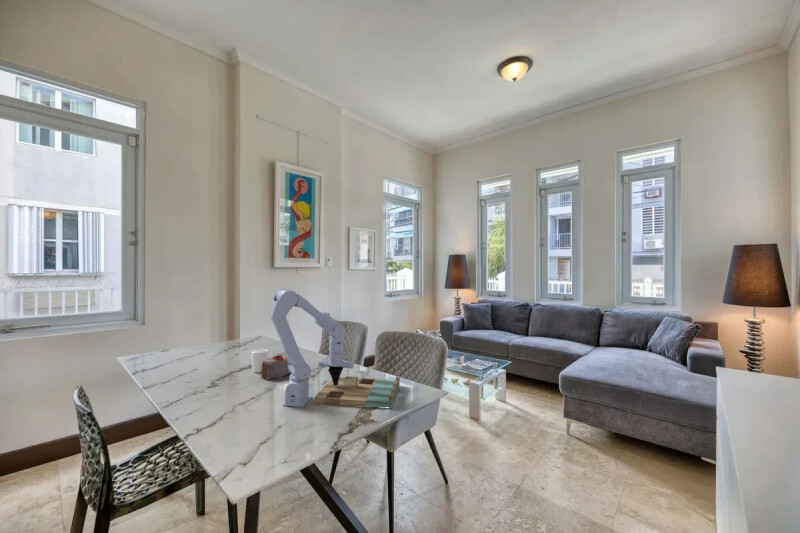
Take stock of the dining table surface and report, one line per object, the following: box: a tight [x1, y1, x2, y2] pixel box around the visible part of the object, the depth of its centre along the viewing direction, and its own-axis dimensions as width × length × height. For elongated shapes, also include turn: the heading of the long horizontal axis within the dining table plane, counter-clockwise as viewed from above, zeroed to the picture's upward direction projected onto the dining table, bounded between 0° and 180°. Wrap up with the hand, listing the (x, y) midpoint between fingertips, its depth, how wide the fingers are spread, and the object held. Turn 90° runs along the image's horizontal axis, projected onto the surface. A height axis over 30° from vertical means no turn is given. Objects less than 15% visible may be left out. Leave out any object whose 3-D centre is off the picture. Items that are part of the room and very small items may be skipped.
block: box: [343, 375, 359, 390], centre depth 135 cm, size 5×5×4 cm
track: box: [313, 375, 401, 409], centre depth 135 cm, size 24×30×4 cm
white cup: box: [250, 348, 269, 374], centre depth 163 cm, size 8×8×10 cm
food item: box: [260, 355, 291, 381], centre depth 156 cm, size 14×8×10 cm, turn 141°
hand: (335, 384), depth 136 cm, fingers closed
